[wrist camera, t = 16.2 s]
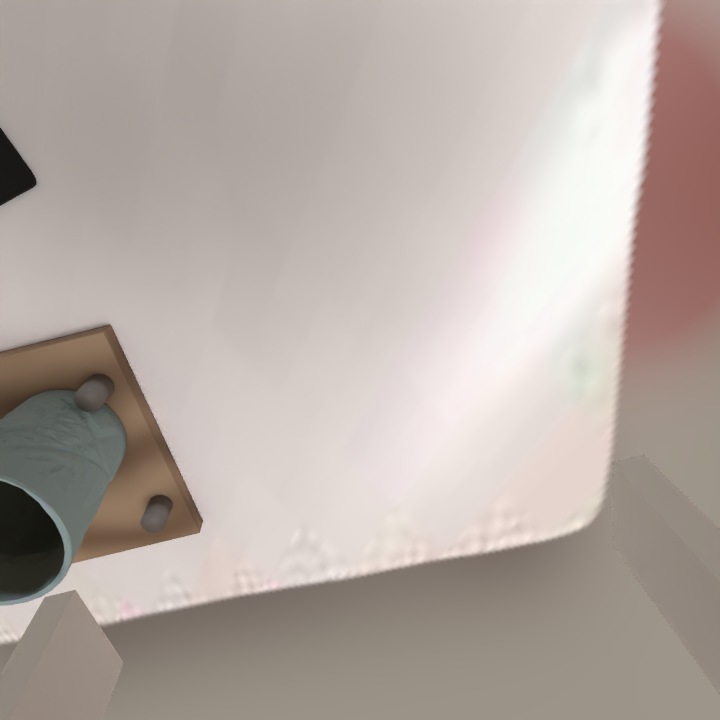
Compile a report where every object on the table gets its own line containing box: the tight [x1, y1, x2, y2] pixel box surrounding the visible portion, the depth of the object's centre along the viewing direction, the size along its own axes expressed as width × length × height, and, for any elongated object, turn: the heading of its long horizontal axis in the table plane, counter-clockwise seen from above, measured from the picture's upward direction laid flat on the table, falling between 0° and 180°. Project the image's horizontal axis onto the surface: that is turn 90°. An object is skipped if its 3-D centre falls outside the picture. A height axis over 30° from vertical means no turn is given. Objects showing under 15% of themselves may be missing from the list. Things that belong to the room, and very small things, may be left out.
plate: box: [0, 325, 203, 563], centre depth 41 cm, size 20×16×4 cm
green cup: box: [0, 390, 126, 605], centre depth 35 cm, size 10×10×12 cm
